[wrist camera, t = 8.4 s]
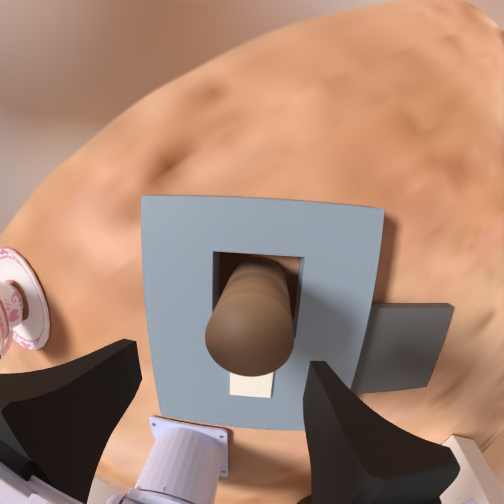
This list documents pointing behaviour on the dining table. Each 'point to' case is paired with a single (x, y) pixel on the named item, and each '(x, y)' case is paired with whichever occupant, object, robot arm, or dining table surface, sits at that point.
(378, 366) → the pad
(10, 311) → the teacup
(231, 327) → the walnut peg
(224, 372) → the hole plate
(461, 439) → the milk carton
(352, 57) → the dining table surface
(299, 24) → the dining table surface
